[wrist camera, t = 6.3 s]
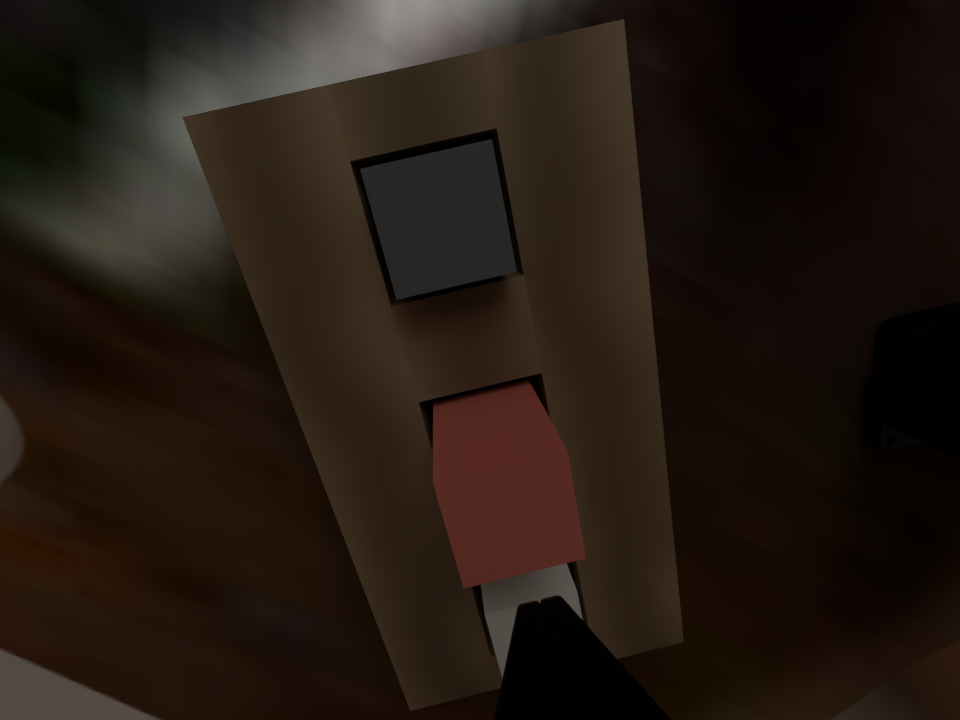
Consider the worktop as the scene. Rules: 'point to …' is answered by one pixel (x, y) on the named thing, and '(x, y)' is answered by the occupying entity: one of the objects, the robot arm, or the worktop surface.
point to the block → (463, 327)
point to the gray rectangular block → (441, 218)
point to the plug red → (503, 484)
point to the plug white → (522, 601)
